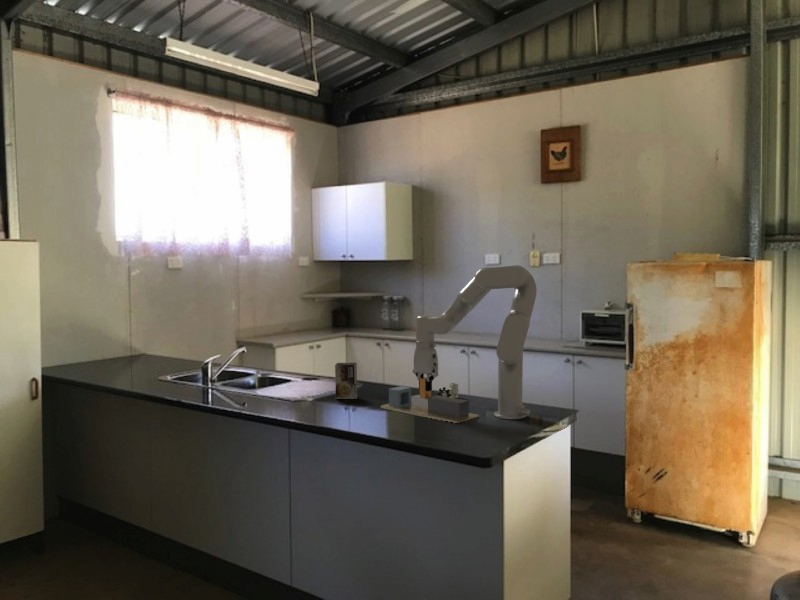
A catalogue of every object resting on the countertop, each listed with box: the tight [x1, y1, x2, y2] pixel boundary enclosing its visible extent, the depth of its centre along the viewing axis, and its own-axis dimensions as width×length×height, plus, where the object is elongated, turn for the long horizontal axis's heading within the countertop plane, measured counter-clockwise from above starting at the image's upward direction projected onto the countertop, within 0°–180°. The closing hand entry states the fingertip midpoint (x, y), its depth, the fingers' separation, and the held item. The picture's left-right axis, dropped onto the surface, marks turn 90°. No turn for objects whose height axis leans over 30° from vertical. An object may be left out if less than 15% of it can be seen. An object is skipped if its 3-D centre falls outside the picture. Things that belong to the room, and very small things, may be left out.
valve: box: [436, 382, 460, 399], centre depth 287 cm, size 7×7×12 cm
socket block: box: [388, 385, 412, 407], centre depth 273 cm, size 6×8×7 cm
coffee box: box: [334, 362, 358, 400], centre depth 290 cm, size 9×6×16 cm
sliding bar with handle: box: [411, 376, 432, 409], centre depth 259 cm, size 23×4×12 cm, turn 47°
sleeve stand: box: [380, 394, 480, 424], centre depth 262 cm, size 41×14×7 cm, turn 47°
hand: (425, 389), depth 263 cm, fingers closed on sliding bar with handle, 3 cm apart
